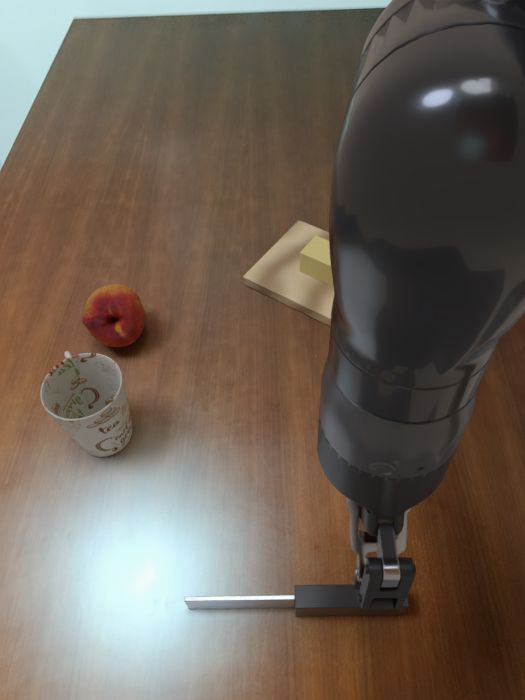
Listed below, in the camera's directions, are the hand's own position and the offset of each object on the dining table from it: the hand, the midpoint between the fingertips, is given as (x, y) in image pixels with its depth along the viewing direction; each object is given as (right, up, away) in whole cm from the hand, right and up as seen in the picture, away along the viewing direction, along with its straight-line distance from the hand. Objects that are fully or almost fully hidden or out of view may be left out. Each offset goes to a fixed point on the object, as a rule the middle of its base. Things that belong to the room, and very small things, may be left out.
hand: (362, 525), depth 43 cm
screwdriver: (-4, -11, +11) cm, 16 cm away
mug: (-27, +5, +25) cm, 37 cm away
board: (+3, +22, +36) cm, 42 cm away
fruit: (-26, +15, +33) cm, 44 cm away
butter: (+1, +24, +36) cm, 43 cm away
